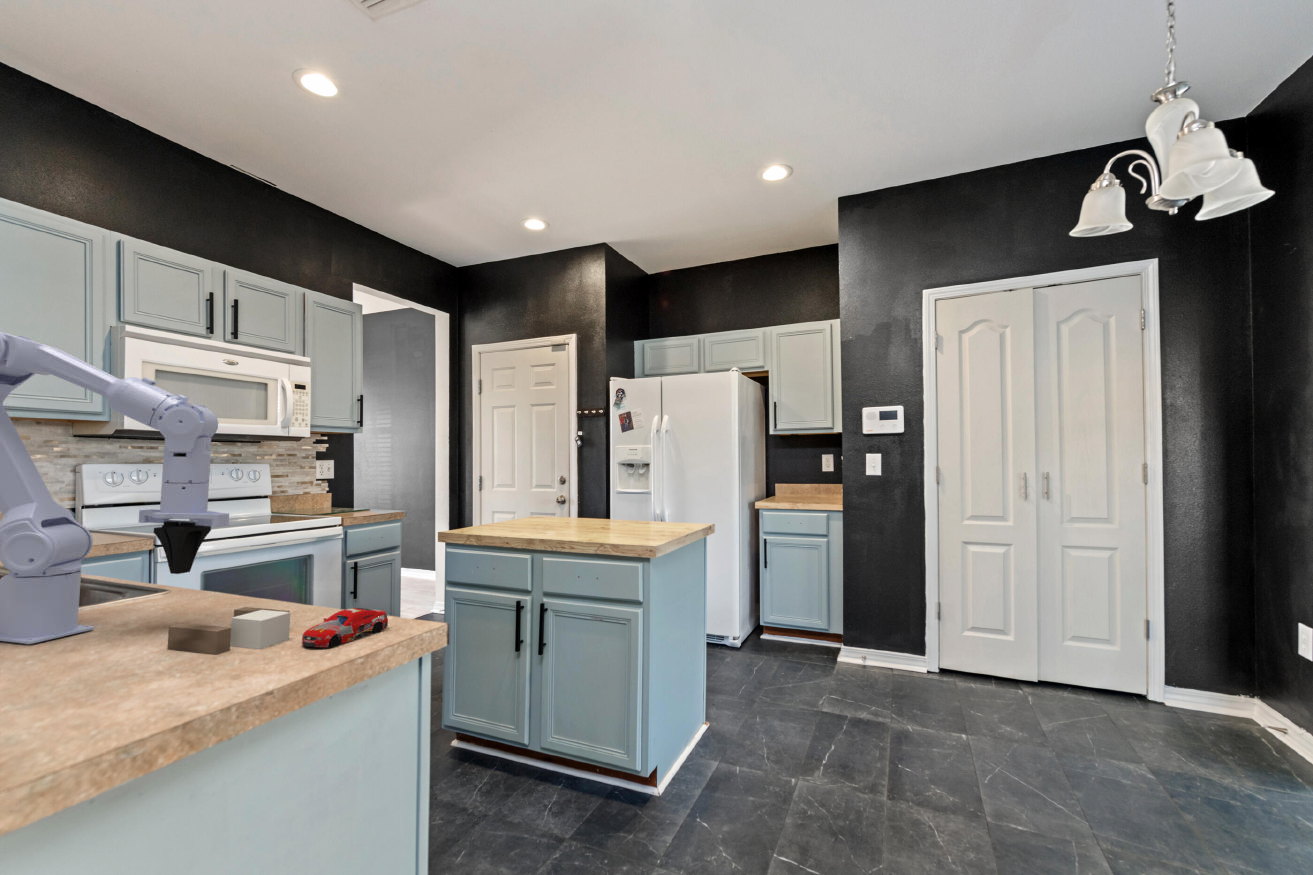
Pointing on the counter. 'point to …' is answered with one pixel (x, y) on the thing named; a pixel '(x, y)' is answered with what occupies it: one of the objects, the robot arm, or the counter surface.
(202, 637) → the parallel wooden rails
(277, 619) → the off-white block
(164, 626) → the counter surface
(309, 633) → the race car
